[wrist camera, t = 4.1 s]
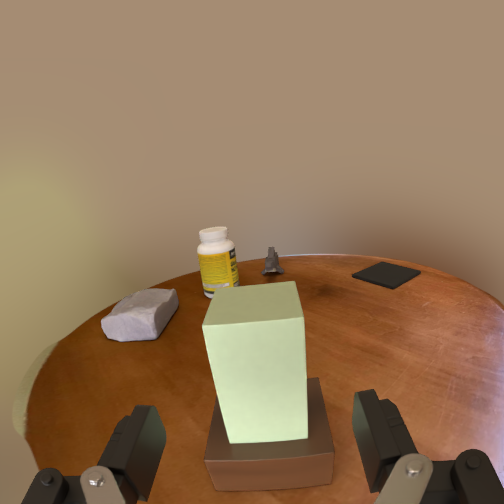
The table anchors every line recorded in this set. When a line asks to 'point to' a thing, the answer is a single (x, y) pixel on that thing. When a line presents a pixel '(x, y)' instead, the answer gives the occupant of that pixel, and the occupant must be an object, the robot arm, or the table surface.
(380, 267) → the mat
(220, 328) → the sage block
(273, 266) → the animal figurine
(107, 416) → the table surface
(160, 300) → the stone block
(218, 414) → the walnut block
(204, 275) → the pill bottle
